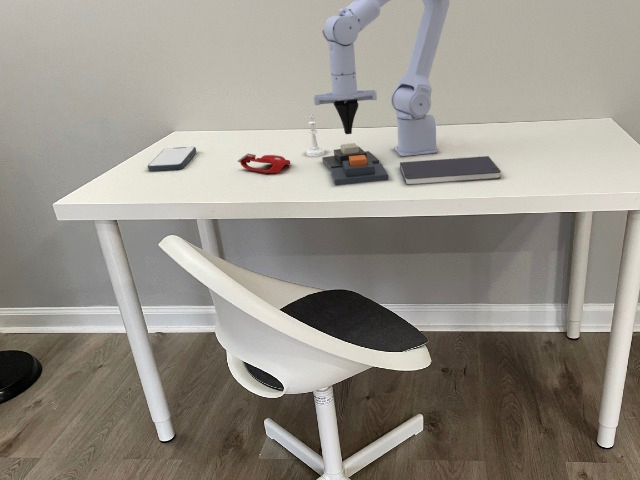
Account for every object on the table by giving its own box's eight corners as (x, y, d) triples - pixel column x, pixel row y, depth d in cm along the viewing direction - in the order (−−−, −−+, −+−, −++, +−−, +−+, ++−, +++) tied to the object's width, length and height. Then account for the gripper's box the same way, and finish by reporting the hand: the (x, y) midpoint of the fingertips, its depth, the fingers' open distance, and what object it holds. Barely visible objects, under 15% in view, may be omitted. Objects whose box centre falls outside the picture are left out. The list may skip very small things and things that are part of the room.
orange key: (365, 162, 143) (364, 154, 143) (367, 166, 140) (366, 159, 140) (349, 163, 143) (348, 156, 142) (351, 168, 140) (350, 160, 139)
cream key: (355, 150, 153) (354, 143, 152) (359, 153, 150) (358, 146, 149) (340, 151, 152) (340, 144, 151) (344, 155, 149) (343, 148, 148)
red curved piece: (285, 156, 157) (296, 155, 148) (285, 174, 158) (295, 174, 149) (236, 152, 152) (244, 151, 143) (236, 170, 152) (244, 171, 144)
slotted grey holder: (381, 169, 148) (380, 155, 146) (388, 180, 140) (387, 166, 138) (331, 174, 146) (330, 160, 144) (335, 185, 138) (333, 171, 137)
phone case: (183, 170, 154) (198, 151, 168) (181, 164, 154) (197, 146, 167) (147, 172, 154) (165, 153, 168) (145, 166, 153) (164, 147, 167)
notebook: (488, 162, 149) (400, 168, 147) (488, 155, 148) (399, 162, 147) (501, 178, 138) (405, 185, 136) (501, 171, 137) (405, 178, 136)
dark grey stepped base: (369, 156, 158) (368, 143, 156) (379, 165, 150) (378, 152, 149) (322, 162, 155) (321, 149, 153) (331, 172, 147) (329, 159, 146)
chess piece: (321, 156, 160) (317, 116, 155) (303, 156, 161) (298, 116, 156) (327, 151, 164) (323, 112, 159) (309, 150, 165) (305, 112, 160)
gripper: (370, 68, 147) (374, 126, 154) (309, 73, 144) (315, 132, 151) (377, 72, 141) (380, 133, 148) (313, 78, 138) (319, 139, 145)
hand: (348, 133), depth 149 cm, fingers closed
